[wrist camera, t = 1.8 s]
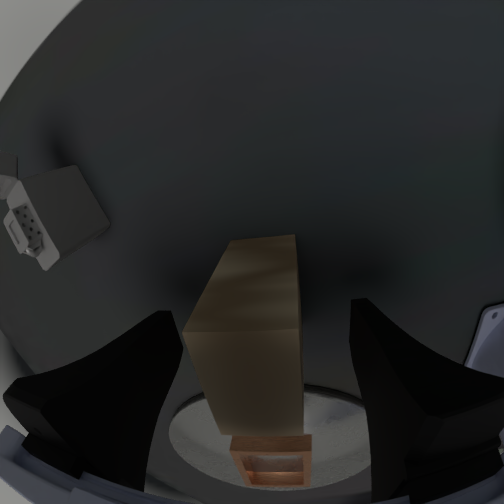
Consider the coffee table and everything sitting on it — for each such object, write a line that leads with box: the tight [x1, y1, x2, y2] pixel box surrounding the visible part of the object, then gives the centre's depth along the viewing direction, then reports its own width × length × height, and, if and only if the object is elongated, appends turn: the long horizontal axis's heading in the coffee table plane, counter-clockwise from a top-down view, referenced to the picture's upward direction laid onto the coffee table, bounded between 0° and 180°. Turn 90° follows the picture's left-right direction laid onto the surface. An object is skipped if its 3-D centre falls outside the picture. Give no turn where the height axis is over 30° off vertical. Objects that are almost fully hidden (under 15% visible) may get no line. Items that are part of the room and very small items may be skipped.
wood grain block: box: [182, 234, 304, 437], centre depth 11 cm, size 3×5×7 cm, turn 8°
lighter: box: [0, 151, 110, 271], centre depth 10 cm, size 7×2×8 cm, turn 30°
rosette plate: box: [169, 385, 371, 491], centre depth 19 cm, size 18×18×2 cm
